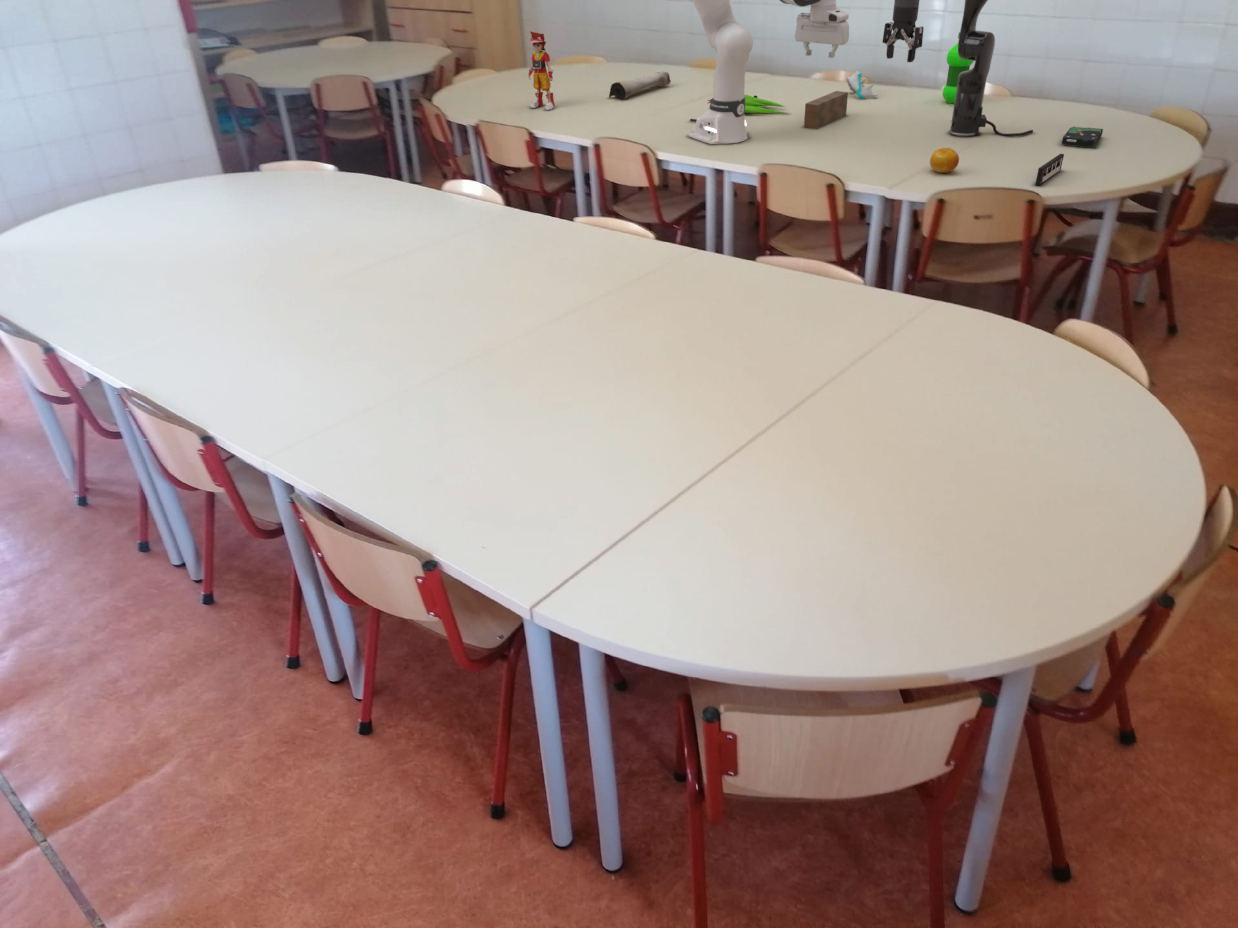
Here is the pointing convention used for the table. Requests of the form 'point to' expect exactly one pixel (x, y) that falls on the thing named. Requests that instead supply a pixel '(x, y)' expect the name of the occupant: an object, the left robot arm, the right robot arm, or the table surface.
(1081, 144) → the disk drive
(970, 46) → the right robot arm
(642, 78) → the rolled mat
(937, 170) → the fruit
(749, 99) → the toy
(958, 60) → the green tall rounded piece
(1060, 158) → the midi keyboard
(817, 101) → the bar
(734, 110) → the left robot arm
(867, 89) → the anatomical model
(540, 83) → the toy
